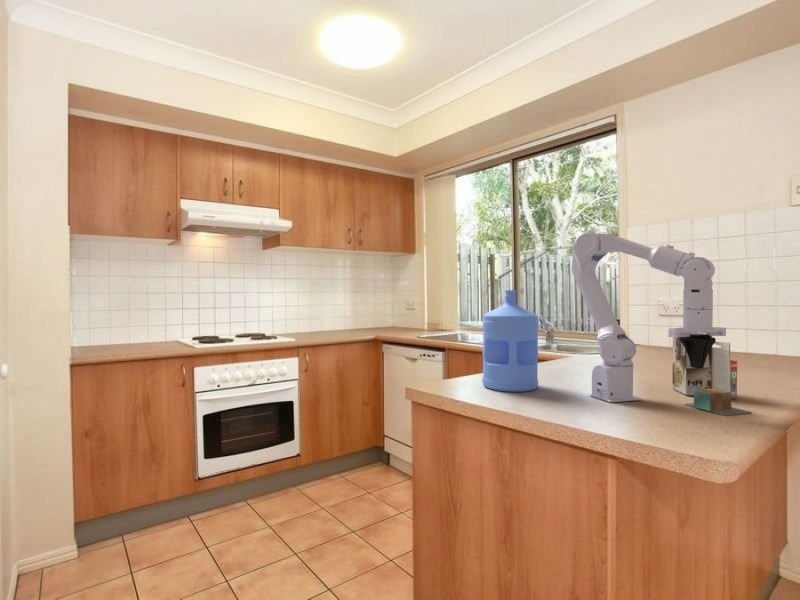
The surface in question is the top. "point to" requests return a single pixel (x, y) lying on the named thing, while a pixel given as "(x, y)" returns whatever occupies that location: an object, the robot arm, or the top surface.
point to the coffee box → (689, 370)
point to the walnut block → (712, 399)
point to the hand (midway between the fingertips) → (697, 367)
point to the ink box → (723, 370)
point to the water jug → (510, 347)
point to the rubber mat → (725, 412)
